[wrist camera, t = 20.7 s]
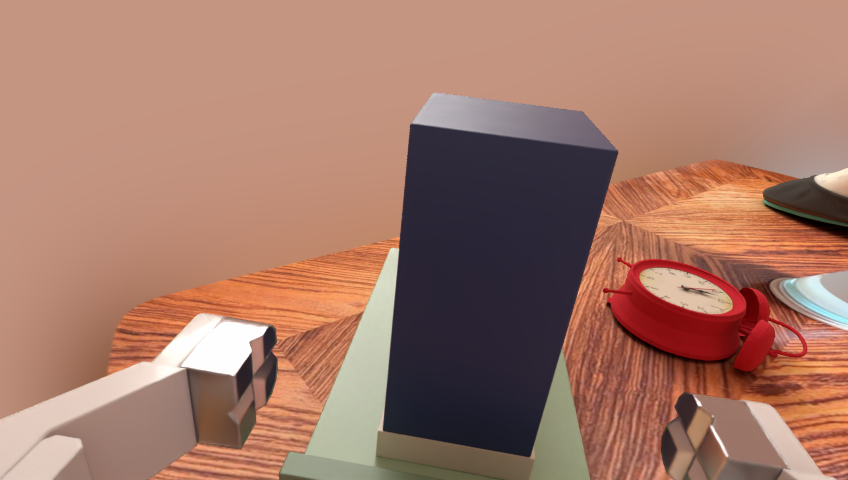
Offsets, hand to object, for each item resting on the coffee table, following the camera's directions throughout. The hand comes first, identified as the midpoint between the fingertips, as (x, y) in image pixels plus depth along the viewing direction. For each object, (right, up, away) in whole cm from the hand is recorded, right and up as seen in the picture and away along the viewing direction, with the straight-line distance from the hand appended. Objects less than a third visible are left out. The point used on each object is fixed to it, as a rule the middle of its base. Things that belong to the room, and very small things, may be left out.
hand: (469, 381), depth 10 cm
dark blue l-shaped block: (+1, -3, +17) cm, 18 cm away
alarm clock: (+22, -5, +32) cm, 40 cm away
